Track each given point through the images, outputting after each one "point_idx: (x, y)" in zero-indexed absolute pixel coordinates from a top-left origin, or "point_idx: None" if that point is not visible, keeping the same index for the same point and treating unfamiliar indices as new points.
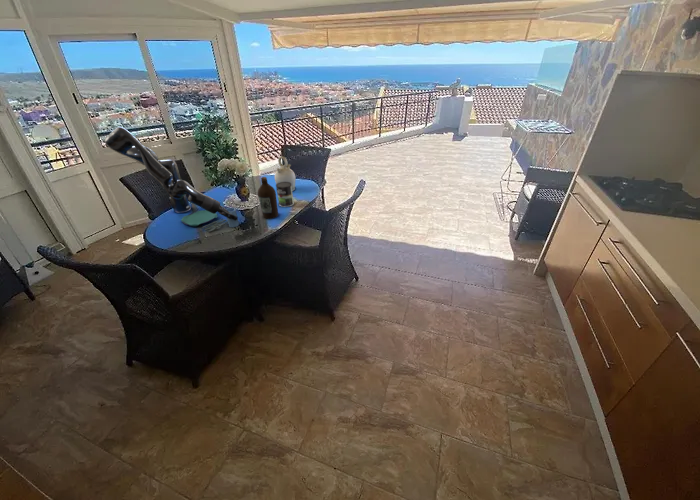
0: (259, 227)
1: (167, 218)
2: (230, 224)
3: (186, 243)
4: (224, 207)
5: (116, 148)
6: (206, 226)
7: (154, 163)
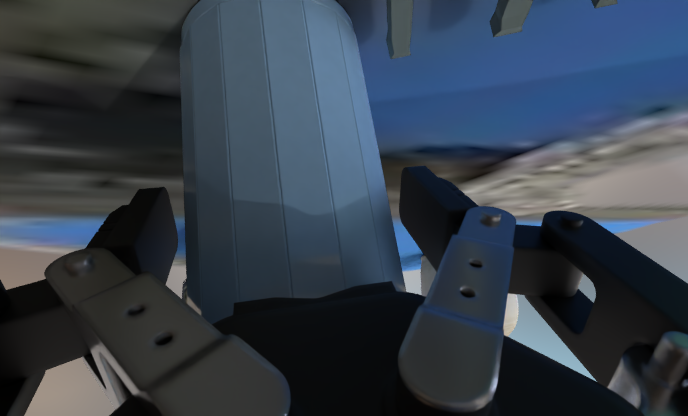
0: (39, 190)
1: None
2: (209, 48)
3: None
4: (536, 302)
5: None
6: None
7: None
